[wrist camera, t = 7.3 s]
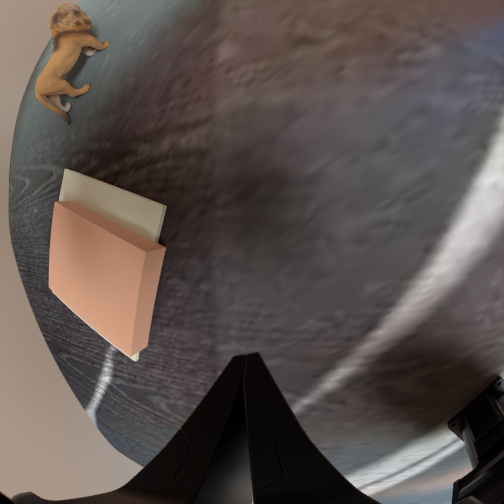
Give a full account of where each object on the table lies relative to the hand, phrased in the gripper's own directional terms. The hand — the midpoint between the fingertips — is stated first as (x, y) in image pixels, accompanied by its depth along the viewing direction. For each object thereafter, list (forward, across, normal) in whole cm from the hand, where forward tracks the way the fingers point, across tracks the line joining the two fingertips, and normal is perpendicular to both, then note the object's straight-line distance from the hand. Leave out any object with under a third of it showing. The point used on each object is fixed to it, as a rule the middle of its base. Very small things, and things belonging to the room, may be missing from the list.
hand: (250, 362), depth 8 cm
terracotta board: (+11, +10, +3) cm, 15 cm away
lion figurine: (+22, +15, -24) cm, 36 cm away
